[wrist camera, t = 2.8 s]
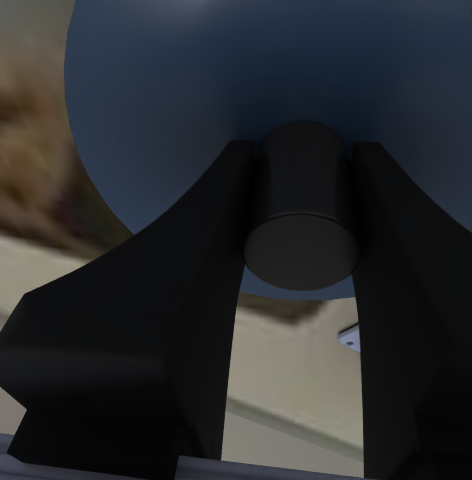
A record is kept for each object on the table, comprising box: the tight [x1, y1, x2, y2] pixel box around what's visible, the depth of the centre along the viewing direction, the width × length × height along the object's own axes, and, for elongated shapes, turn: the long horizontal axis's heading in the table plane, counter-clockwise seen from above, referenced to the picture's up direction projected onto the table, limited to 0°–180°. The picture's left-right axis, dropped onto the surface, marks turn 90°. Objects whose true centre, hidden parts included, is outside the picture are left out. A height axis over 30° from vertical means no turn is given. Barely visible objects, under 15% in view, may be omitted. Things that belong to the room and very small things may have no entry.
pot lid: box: [64, 0, 472, 300], centre depth 10 cm, size 13×13×5 cm
